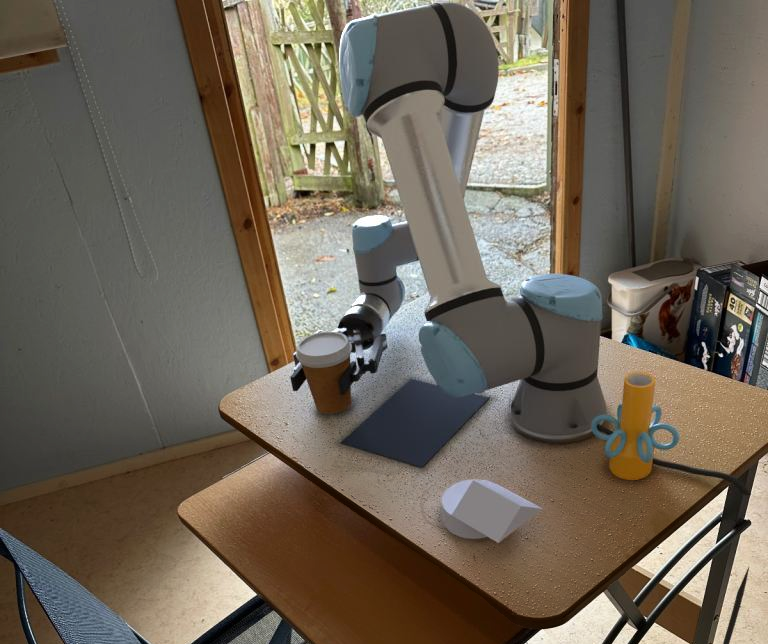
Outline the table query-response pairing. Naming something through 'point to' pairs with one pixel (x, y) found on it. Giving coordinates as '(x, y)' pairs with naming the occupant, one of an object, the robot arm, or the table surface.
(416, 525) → the table surface
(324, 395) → the disposable coffee cup
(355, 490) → the table surface
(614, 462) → the yellow tube with rings
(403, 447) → the mat
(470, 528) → the wedge on round base
